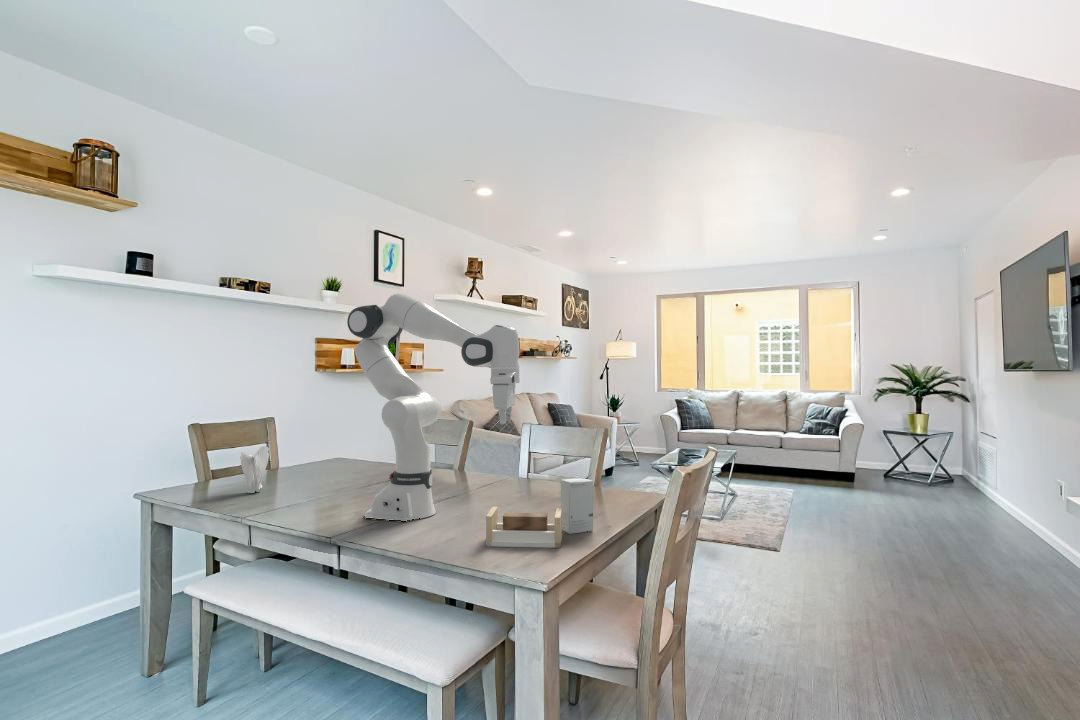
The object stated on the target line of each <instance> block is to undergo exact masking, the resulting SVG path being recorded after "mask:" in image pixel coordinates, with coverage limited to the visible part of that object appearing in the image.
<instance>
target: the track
mask: <svg viewBox="0 0 1080 720" xmlns="http://www.w3.org/2000/svg"><path fill="white" fill-rule="evenodd" d="M498 509H499V507H498V506H492V507H491V508H490V510H489V511H488V512H487V514H486V516H485V530H486V531H485V544H486V545H485V546H486V547H502V548H503V547H507V548H508V547H513V548H545V549H546V548H550V549H551V548H552V549H554V548H555V549H556V548H557V549H559V548H560V549H561V547H562V541H563V530H562V508H561V507H556V509H555V510H556V511H555V515H554V523H547V525H548V531H517V530H503V522H499V510H498Z"/></svg>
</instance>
